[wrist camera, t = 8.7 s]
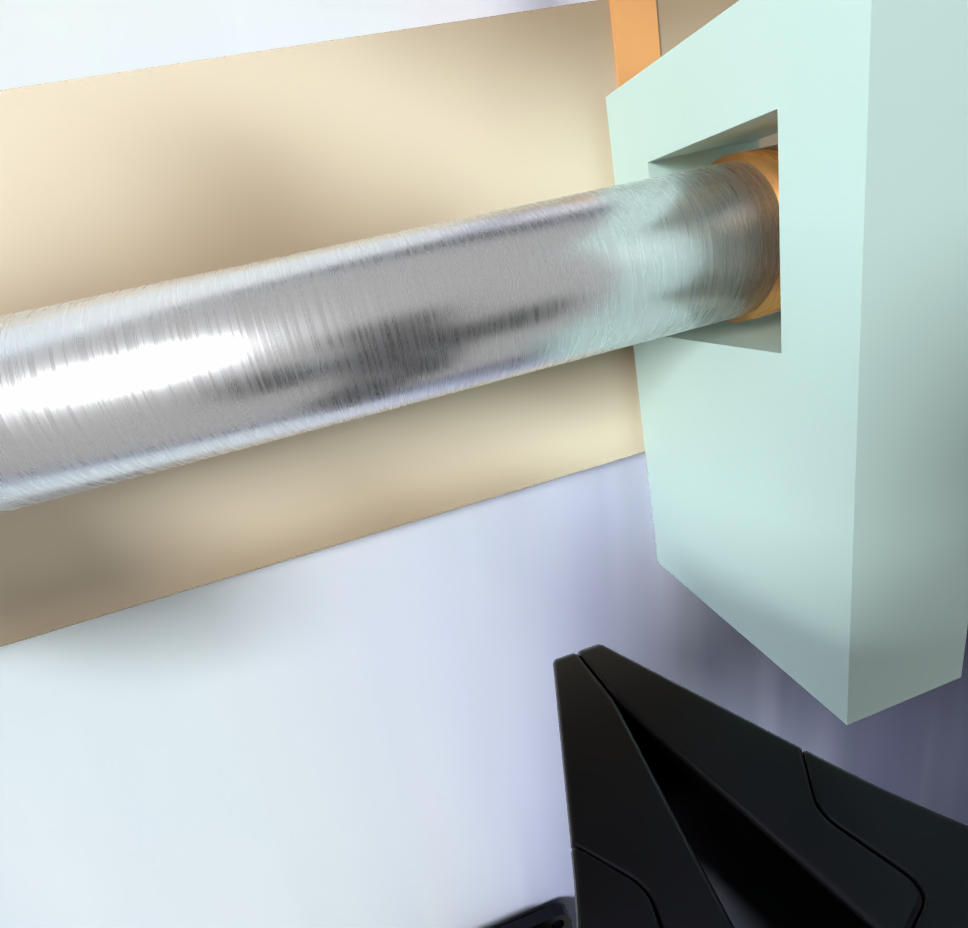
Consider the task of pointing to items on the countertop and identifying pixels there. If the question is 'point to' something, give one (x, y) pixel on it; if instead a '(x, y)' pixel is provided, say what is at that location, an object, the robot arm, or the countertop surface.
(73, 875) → the countertop surface
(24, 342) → the pipe
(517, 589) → the countertop surface
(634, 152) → the collar
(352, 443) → the beige cradle stand
